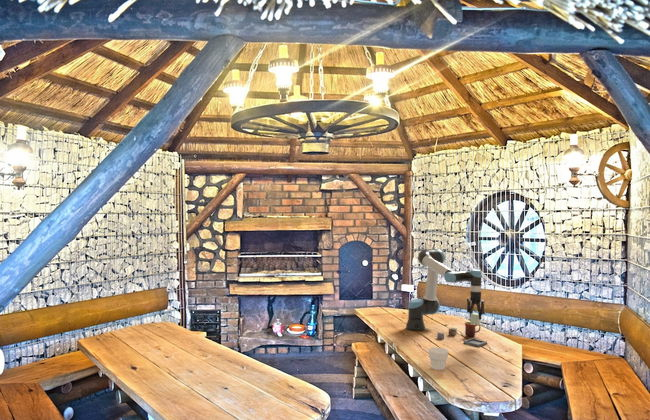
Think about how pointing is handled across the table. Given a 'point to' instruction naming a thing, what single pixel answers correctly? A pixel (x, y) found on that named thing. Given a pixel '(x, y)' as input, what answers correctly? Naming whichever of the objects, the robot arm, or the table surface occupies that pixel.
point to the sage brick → (474, 318)
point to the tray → (475, 342)
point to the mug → (470, 329)
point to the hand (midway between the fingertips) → (475, 323)
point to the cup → (438, 357)
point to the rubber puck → (440, 335)
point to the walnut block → (452, 331)
